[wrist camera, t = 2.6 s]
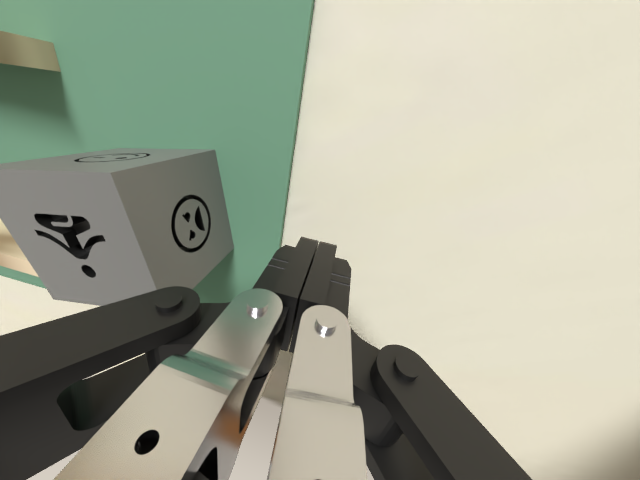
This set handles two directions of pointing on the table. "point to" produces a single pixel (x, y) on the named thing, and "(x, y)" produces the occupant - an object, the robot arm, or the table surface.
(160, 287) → the dice cube
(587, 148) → the table surface
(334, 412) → the robot arm
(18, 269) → the wooden u-shaped frame
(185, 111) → the green mat
